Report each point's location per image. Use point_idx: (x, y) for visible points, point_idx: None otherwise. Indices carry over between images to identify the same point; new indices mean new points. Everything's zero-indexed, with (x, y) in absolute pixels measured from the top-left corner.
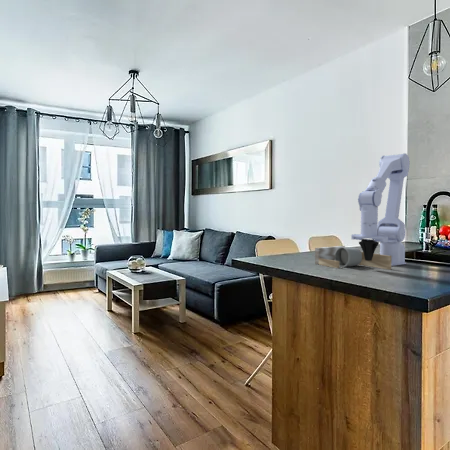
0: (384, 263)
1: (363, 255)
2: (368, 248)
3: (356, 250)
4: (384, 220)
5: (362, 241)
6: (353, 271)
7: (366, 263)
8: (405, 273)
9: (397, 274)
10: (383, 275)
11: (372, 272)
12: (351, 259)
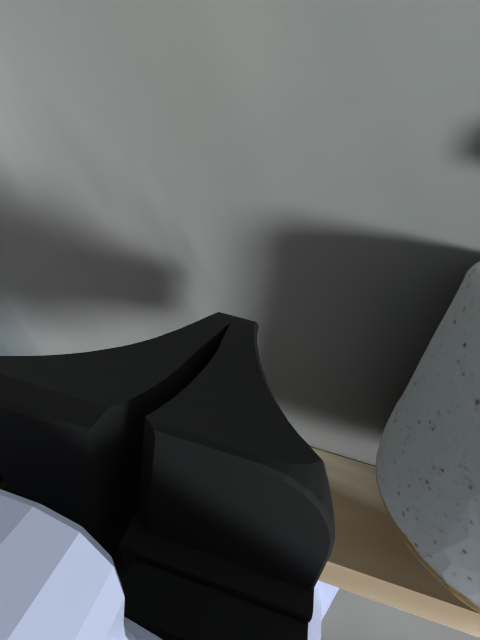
0: None
1: (399, 554)
2: (107, 353)
3: (463, 526)
4: None
5: (259, 576)
6: (308, 84)
7: (353, 475)
8: (16, 332)
9: (11, 258)
10: (23, 124)
11: (155, 193)
12: (450, 317)
